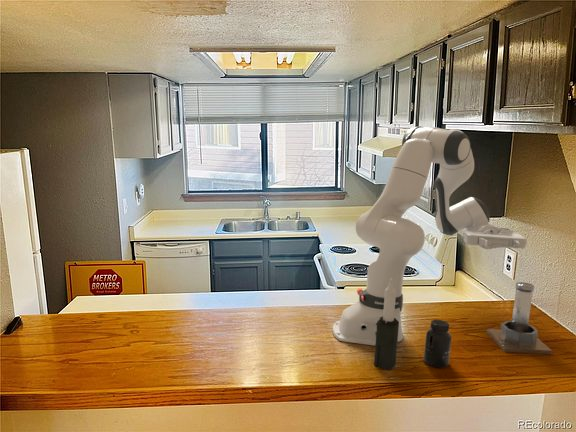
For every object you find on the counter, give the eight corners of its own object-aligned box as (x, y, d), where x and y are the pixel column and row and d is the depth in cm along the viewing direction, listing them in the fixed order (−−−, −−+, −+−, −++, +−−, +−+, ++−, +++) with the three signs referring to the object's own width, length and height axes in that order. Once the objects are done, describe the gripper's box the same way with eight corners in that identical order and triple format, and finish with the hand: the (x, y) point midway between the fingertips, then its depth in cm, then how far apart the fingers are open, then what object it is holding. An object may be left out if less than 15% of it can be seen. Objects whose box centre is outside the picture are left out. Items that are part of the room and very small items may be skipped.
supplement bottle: (450, 369, 125) (454, 329, 123) (424, 366, 126) (428, 326, 124) (446, 358, 131) (450, 319, 129) (422, 355, 133) (426, 316, 130)
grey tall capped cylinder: (513, 342, 141) (520, 287, 138) (506, 335, 146) (513, 281, 142) (529, 343, 141) (537, 287, 137) (522, 336, 145) (529, 282, 142)
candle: (396, 363, 127) (403, 278, 123) (390, 371, 123) (397, 283, 118) (379, 358, 130) (385, 274, 125) (372, 365, 125) (379, 279, 121)
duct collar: (504, 351, 137) (506, 335, 136) (486, 332, 150) (488, 317, 150) (551, 354, 136) (554, 338, 135) (529, 334, 150) (531, 319, 149)
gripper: (459, 225, 164) (472, 233, 150) (516, 229, 163) (535, 237, 149) (457, 242, 165) (470, 251, 151) (513, 246, 164) (532, 256, 150)
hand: (503, 244), depth 150 cm, fingers open, 8 cm apart
